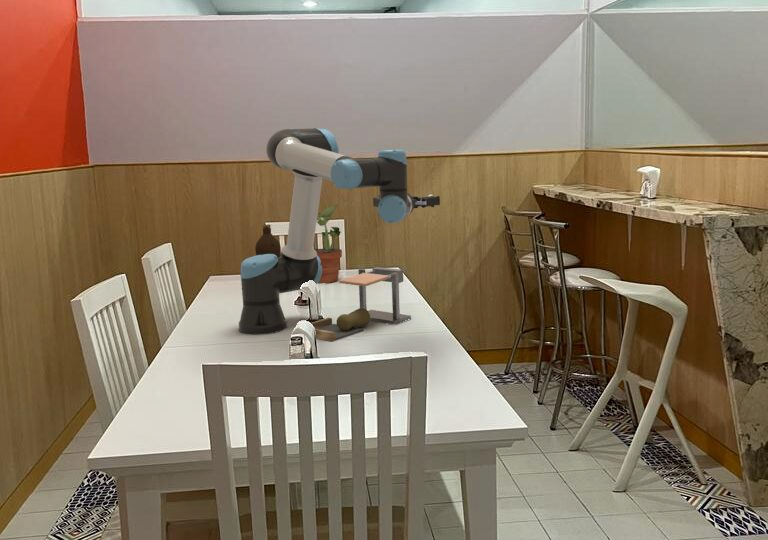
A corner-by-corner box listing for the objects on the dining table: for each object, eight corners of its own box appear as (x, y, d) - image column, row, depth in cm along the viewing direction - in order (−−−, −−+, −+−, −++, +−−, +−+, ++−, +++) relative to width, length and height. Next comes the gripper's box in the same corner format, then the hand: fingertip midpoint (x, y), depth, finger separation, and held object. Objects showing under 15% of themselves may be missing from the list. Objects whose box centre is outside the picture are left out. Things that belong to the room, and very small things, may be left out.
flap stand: (371, 313, 256) (369, 266, 254) (411, 319, 246) (409, 270, 243) (354, 318, 250) (352, 270, 247) (394, 324, 239) (392, 274, 236)
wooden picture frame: (297, 334, 231) (296, 326, 230) (328, 324, 242) (328, 317, 241) (332, 341, 221) (331, 333, 221) (363, 330, 233) (363, 323, 232)
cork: (356, 326, 240) (335, 333, 232) (354, 308, 240) (332, 314, 231) (371, 325, 237) (349, 332, 228) (368, 307, 236) (347, 313, 228)
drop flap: (376, 278, 253) (376, 267, 252) (404, 281, 246) (403, 269, 245) (339, 290, 238) (338, 278, 238) (367, 294, 231) (366, 282, 230)
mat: (305, 334, 231) (305, 332, 231) (333, 325, 241) (333, 323, 241) (336, 340, 223) (336, 338, 223) (364, 330, 233) (364, 328, 233)
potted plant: (351, 279, 321) (348, 198, 315) (330, 285, 309) (326, 201, 303) (322, 276, 330) (318, 197, 324) (301, 282, 317) (296, 200, 311)
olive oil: (287, 281, 320) (284, 223, 316) (272, 286, 311) (269, 226, 307) (267, 280, 325) (264, 223, 321) (252, 284, 316) (248, 226, 312)
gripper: (357, 219, 214) (371, 211, 235) (443, 217, 210) (450, 210, 230) (356, 192, 213) (370, 188, 233) (443, 190, 208) (449, 186, 229)
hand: (409, 199), depth 232 cm, fingers open, 13 cm apart
